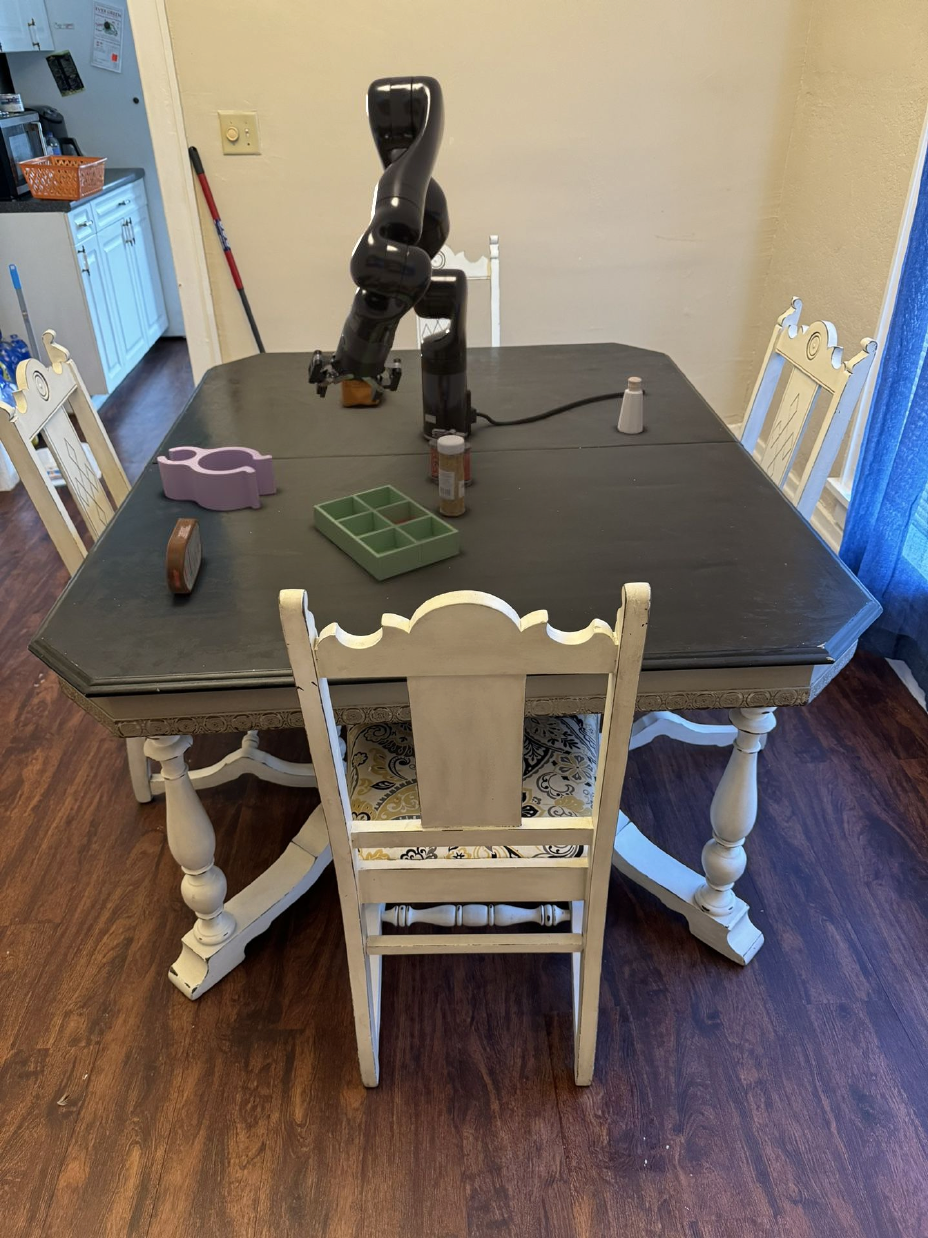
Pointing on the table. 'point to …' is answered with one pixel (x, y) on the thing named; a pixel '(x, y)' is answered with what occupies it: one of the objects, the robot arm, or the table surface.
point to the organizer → (386, 531)
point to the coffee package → (356, 393)
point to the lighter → (435, 455)
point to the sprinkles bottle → (451, 475)
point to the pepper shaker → (632, 408)
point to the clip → (217, 476)
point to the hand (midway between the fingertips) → (347, 394)
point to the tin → (183, 556)
